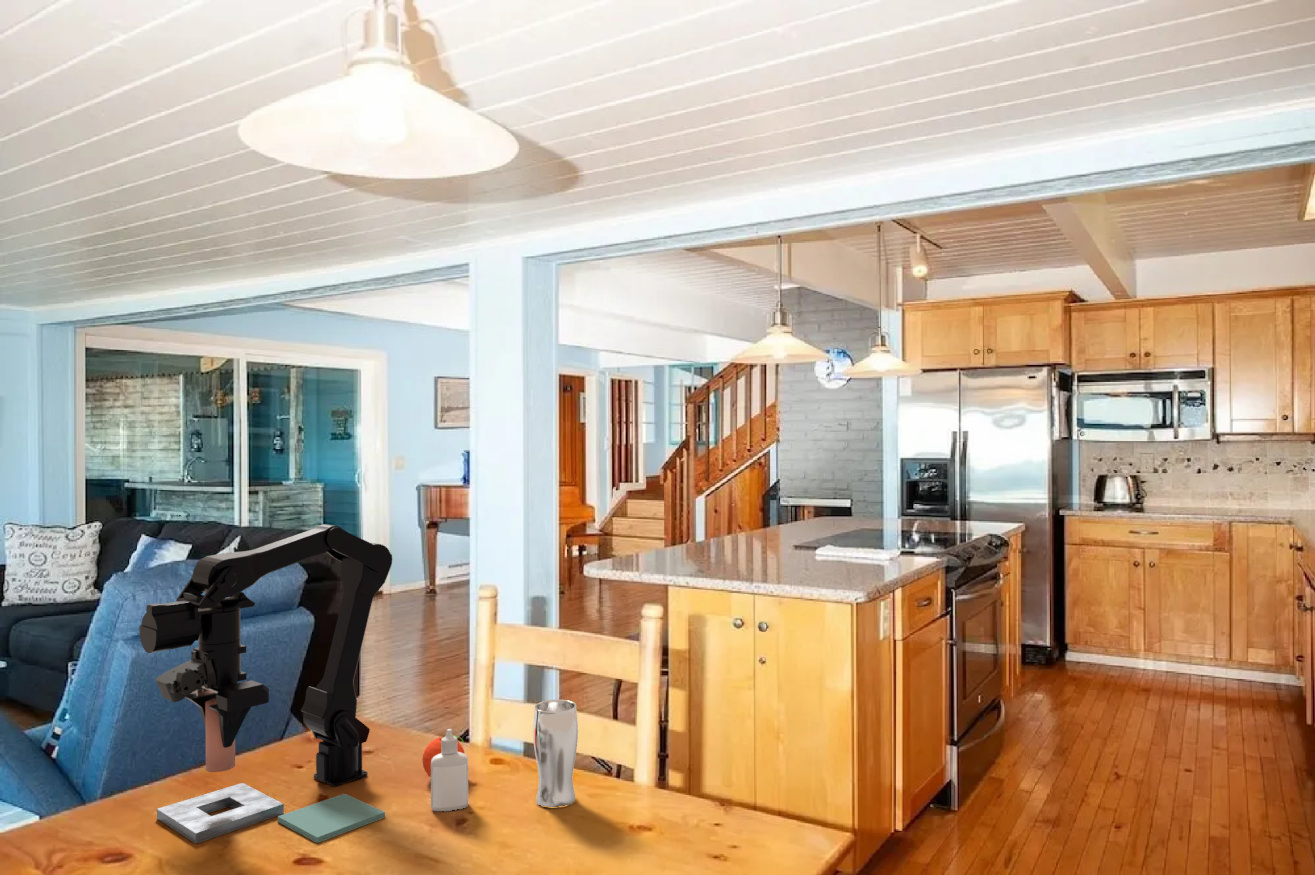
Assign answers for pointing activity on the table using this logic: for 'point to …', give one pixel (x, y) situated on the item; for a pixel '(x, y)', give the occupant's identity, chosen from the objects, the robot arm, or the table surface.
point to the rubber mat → (331, 817)
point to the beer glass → (555, 751)
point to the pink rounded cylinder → (216, 743)
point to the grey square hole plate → (201, 826)
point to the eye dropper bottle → (449, 777)
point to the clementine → (435, 753)
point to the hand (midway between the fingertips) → (220, 743)
